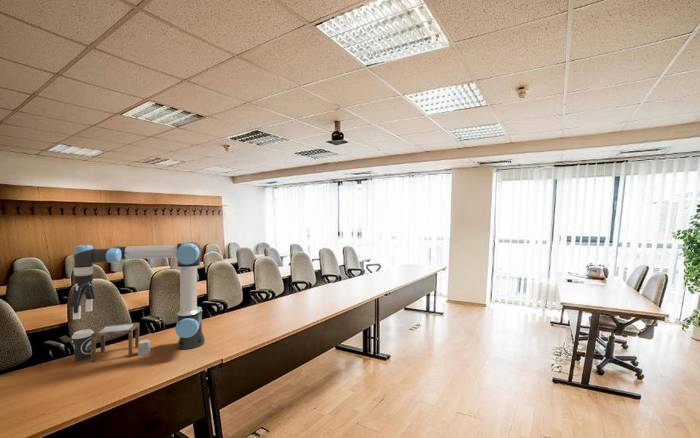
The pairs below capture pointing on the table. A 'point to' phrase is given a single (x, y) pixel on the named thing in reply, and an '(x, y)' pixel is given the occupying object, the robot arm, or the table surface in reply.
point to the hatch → (116, 328)
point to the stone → (144, 347)
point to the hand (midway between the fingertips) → (83, 315)
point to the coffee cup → (82, 344)
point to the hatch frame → (96, 333)
